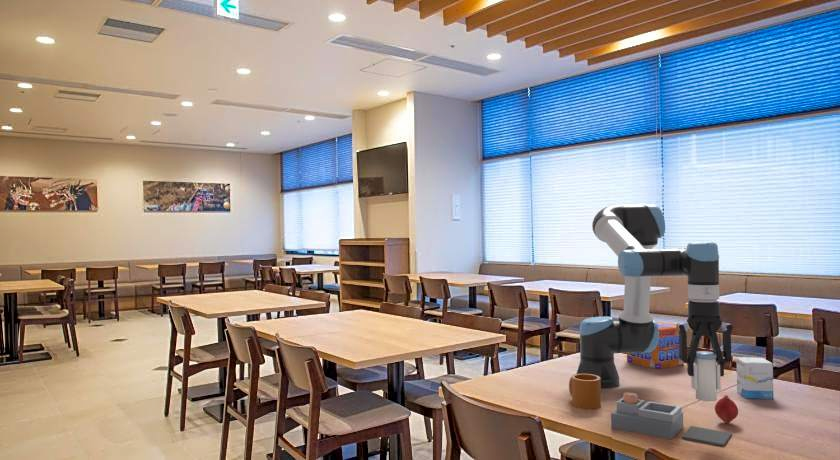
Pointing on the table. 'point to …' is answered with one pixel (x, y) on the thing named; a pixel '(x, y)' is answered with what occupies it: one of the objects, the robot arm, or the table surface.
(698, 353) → the cylinder
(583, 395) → the mug
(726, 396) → the onion
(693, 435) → the pad
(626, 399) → the salmon orange cube
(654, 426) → the box
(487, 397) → the table surface
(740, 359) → the ink box
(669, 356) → the game box
